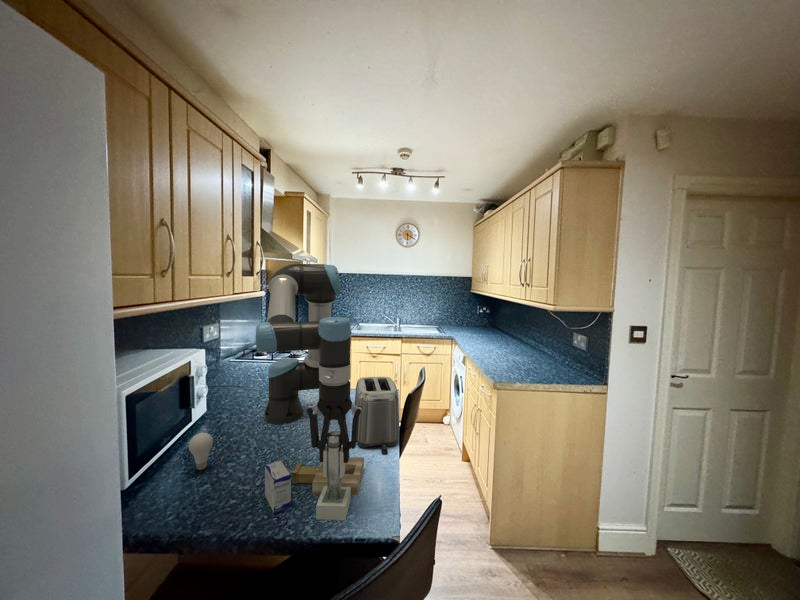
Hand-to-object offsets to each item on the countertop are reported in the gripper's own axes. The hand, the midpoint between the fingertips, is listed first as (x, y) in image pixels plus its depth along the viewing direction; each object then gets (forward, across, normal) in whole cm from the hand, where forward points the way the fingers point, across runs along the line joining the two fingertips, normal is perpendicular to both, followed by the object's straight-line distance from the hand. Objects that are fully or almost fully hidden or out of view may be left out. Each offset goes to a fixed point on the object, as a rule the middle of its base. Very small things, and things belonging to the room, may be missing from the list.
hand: (334, 473), depth 77 cm
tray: (+9, 0, 0) cm, 9 cm away
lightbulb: (+9, -43, +14) cm, 46 cm away
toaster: (+9, +6, +39) cm, 40 cm away
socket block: (+9, -1, +11) cm, 14 cm away
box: (+9, -15, +2) cm, 18 cm away
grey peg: (+6, 0, 0) cm, 6 cm away
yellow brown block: (+9, -9, +11) cm, 17 cm away
